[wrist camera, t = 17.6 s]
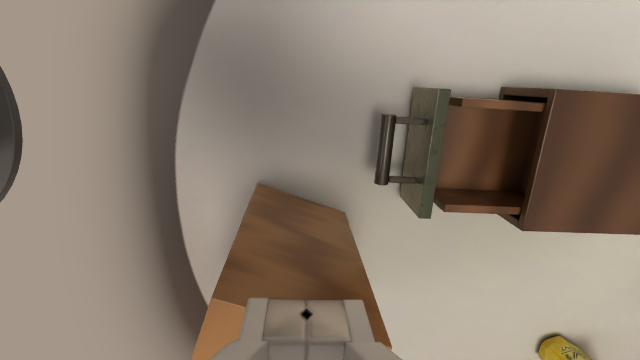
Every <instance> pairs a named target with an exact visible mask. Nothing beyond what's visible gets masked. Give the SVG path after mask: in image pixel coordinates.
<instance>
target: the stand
mask: <svg viewBox="0 0 640 360" xmlns="http://www.w3.org/2000/svg"><path fill="white" fill-rule="evenodd" d="M249 298H268V299H269V298H278V299H303V300H362V301H363V303H364V306H365V310H366V313H367V317H368V320H369V323H370V327H371V330H372V334H373V337H374V340H375V342H381V343H382V344H383V345H385V346H386V347H387V348H388V349H390V350H391V349H392V345H391V343H390V340H389V337H388V334H387V331H386V328H385V326H384V323H383V320H382V317H381V314H380V311H379V309H378V306H377V303H376V300H375V297H374V294H373V291H372V289H371V286H370V283H369V280H368V277H367V274H366V272H365V269H364V266H363V263H362V260H361V257H360V255H359V252H358V249H357V246H356V243H355V240H354V238H353V235H352V232H351V229H350V226H349V223H348V220H347V218H346V215H345V213H344V212H341V211H338V210H335V209H332V208H329V207H326V206H323V205H320V204H317V203H314V202H311V201H308V200H305V199H302V198H299V197H296V196H293V195H290V194H287V193H284V192H281V191H278V190H275V189H272V188H269V187H266V186H263V185H260V184H257V185H256V188H255V190H254V193H253V195H252V198H251V200H250V203H249V205H248V208H247V210H246V213H245V215H244V218H243V220H242V223H241V225H240V228H239V230H238V233H237V235H236V238H235V240H234V243H233V245H232V248H231V250H230V253H229V255H228V258H227V260H226V263H225V265H224V268H223V270H222V273H221V275H220V278H219V280H218V283H217V285H216V288H215V290H214V293H213V295H212V298H211V301H210V304H209V307H208V310H207V313H206V316H205V319H204V322H203V325H202V328H201V331H200V334H199V337H198V340H197V343H196V346H195V349H194V352H193V355H192V358H191V360H209V359H210V358H212V357H213V356H214V355H215V354H216V353H218V352H219V351H220V350H221V349H222V348H224V347H225V346H226V345H227V344H229V343H230V342H231V341H238V338H239V334H240V330H241V326H242V322H243V318H244V313H245V309H246V305H247V301H248V299H249Z"/></svg>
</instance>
